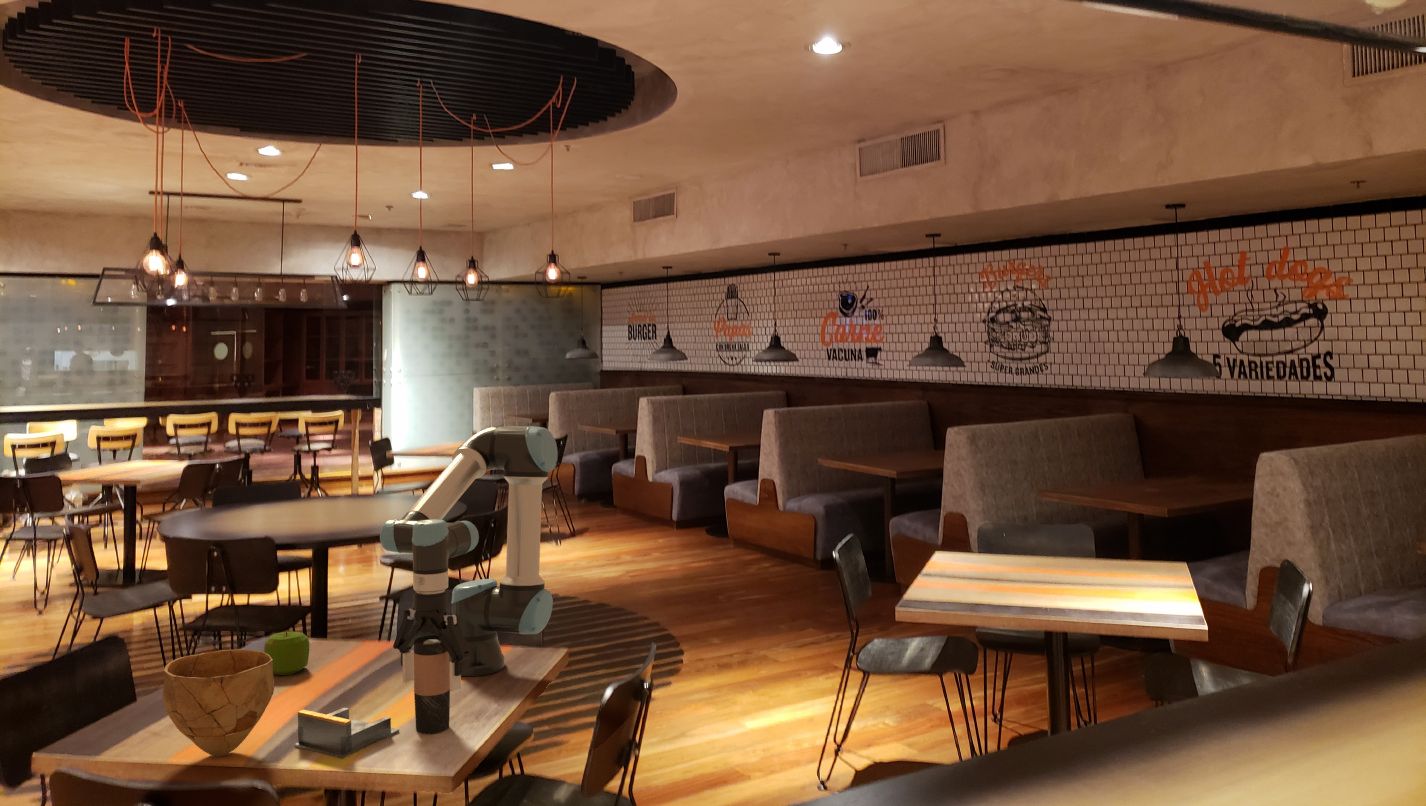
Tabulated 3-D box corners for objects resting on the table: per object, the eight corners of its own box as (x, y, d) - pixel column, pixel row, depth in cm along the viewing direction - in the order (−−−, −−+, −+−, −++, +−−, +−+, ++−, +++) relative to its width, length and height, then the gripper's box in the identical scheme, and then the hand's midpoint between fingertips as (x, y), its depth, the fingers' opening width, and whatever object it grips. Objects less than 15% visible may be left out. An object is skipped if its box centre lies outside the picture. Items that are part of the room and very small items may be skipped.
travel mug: (457, 724, 220) (456, 636, 219) (437, 736, 212) (435, 645, 212) (428, 720, 222) (427, 633, 221) (407, 732, 215) (406, 642, 214)
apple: (318, 669, 259) (317, 628, 259) (281, 680, 250) (280, 638, 250) (292, 662, 265) (292, 622, 265) (256, 673, 256) (255, 632, 256)
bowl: (219, 732, 215) (217, 642, 214) (296, 742, 209) (294, 650, 209) (139, 769, 195) (136, 671, 195) (221, 782, 190) (219, 680, 189)
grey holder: (353, 721, 221) (352, 690, 221) (399, 732, 215) (398, 700, 215) (294, 746, 207) (293, 713, 207) (342, 758, 201) (341, 724, 200)
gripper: (376, 588, 218) (377, 682, 219) (463, 599, 207) (464, 698, 208) (400, 581, 225) (401, 672, 226) (486, 592, 214) (487, 688, 214)
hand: (431, 685), depth 217 cm, fingers open, 13 cm apart
